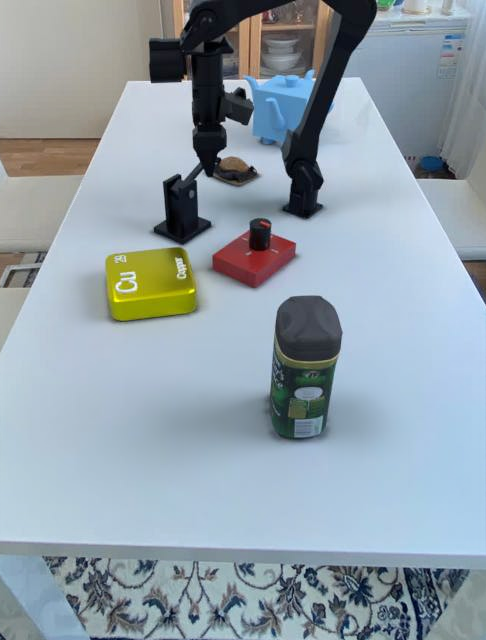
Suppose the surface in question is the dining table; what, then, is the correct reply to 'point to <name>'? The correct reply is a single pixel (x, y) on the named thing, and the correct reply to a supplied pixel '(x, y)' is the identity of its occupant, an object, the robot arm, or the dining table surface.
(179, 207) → the lever bracket
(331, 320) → the coffee jar
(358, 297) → the dining table surface
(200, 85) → the robot arm
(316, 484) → the dining table surface
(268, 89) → the teakettle
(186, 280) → the element tile
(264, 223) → the knob
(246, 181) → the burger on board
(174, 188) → the black lever handle
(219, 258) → the dial panel
